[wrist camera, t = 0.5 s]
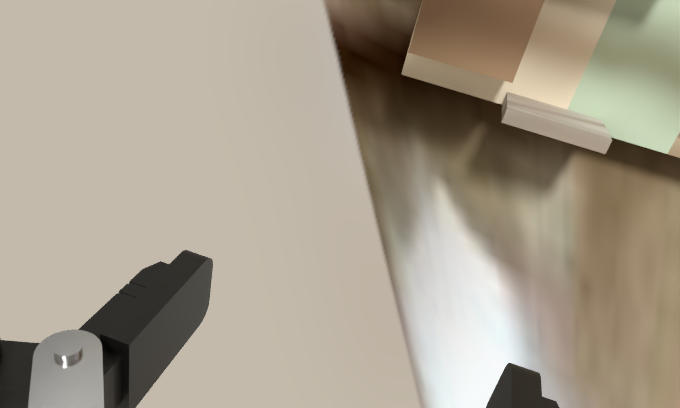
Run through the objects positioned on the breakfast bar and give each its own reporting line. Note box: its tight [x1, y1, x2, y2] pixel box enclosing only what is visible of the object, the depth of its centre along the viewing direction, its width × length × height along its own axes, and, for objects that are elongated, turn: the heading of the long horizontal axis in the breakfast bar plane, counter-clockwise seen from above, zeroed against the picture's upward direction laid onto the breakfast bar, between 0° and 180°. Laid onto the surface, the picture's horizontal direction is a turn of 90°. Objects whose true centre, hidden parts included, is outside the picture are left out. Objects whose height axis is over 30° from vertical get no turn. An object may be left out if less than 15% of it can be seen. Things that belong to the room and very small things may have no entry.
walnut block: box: [408, 0, 545, 83], centre depth 28 cm, size 6×6×4 cm
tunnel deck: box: [401, 0, 680, 158], centre depth 29 cm, size 10×20×6 cm, turn 77°
